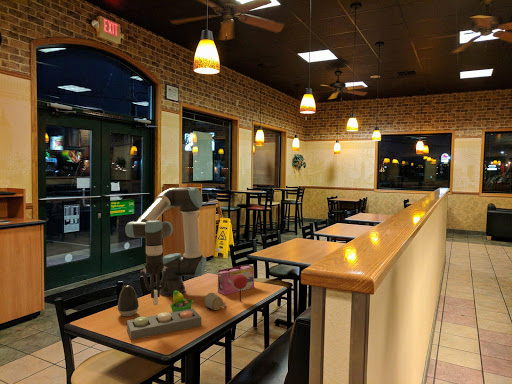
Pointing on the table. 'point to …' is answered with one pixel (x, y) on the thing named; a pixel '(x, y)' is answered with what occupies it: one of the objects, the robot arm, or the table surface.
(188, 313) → the terracotta button
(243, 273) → the gum box
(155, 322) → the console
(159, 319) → the cream button
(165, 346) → the table surface
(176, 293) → the fruit basket
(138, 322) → the sage button
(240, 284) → the lollipop
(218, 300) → the ceramic mug
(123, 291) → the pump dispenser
